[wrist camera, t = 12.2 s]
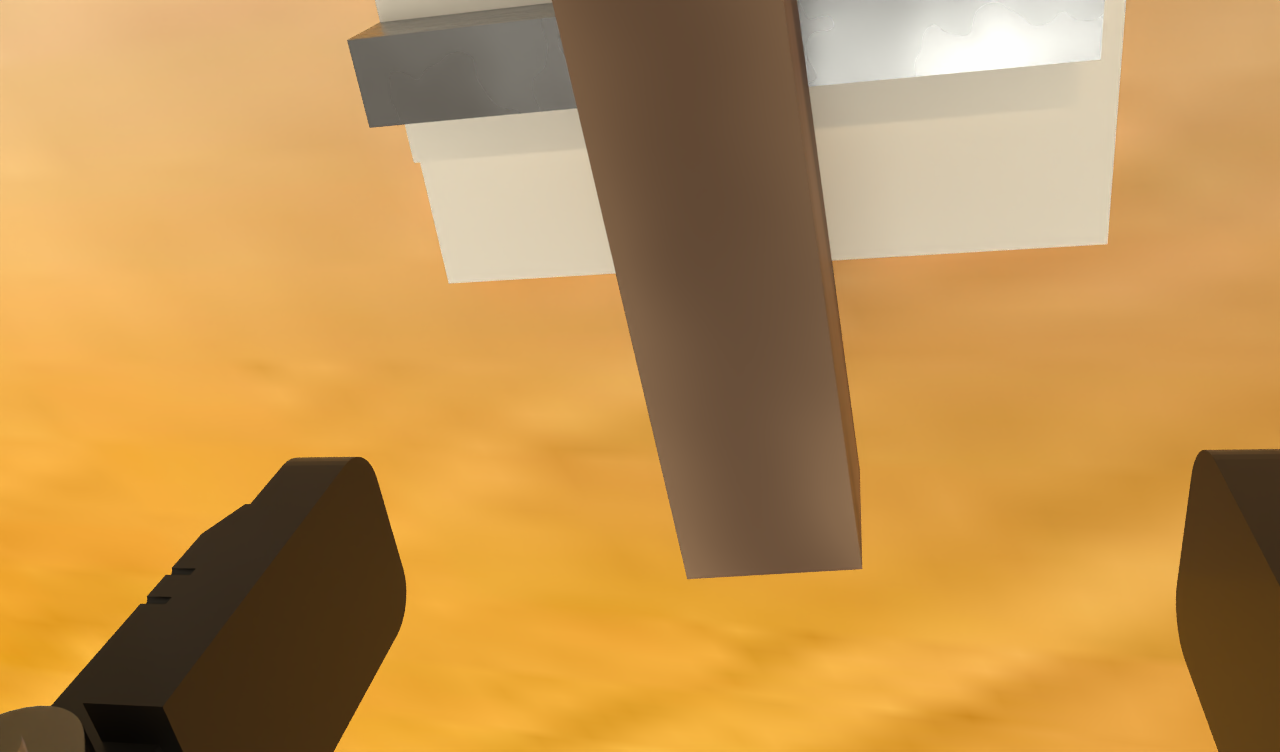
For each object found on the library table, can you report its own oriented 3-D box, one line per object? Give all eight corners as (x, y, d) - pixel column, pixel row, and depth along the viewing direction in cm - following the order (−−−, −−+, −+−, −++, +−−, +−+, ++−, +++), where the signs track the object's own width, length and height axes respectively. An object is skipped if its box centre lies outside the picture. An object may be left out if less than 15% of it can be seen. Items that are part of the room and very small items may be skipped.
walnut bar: (710, -654, 17) (677, -759, 14) (859, 468, 27) (862, 569, 24) (481, -577, 18) (397, -658, 15) (706, 481, 28) (687, 579, 25)
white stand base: (1143, -436, 24) (1274, -526, 17) (1096, 224, 32) (1172, 359, 25) (336, -290, 28) (161, -311, 21) (463, 265, 36) (366, 390, 29)
